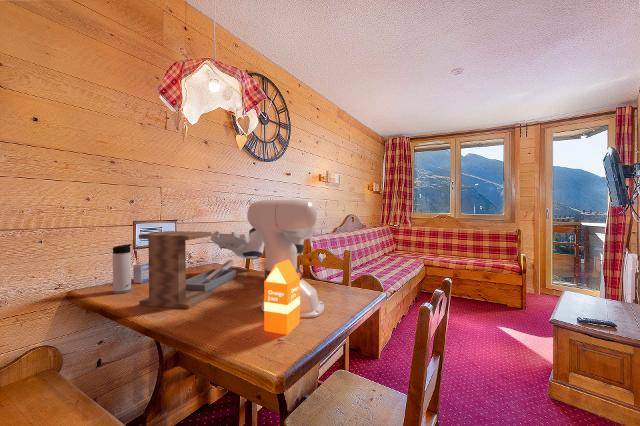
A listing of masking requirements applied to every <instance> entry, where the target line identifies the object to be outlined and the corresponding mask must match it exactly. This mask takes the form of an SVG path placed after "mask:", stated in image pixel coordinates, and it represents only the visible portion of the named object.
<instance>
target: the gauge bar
mask: <svg viewBox="0 0 640 426" xmlns="http://www.w3.org/2000/svg"><path fill="white" fill-rule="evenodd" d="M233 265H234V259H228V260H227V261H226V262H224V263H223V264H222V265H221V266H219V267H218V268H216V269H217V270H215V271H214V272H213V273H211V274H210V275H209V276H207V277H206V278H205V283H209V282H211V281H213V280H215V279H216V278H218V277H219V276H220V275H221V274H222V273H224V272H225V271H226V270H229V269H230V268H231V267H232V266H233Z"/></svg>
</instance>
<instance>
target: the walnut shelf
mask: <svg viewBox="0 0 640 426" xmlns="http://www.w3.org/2000/svg"><path fill="white" fill-rule="evenodd" d="M212 234H213V233H212V231H184V230H183V231H182V230H181V231H176V230H165V231H157V232H150V233H148V232H147V233H142V234H141V233H140V234H138V239H139V240H143V239H144V240H148V262H149V281H148V297H146V298H144V299H141V300H139V302H138V303H139V306H143V307H144V306H145V307H157V308H159V307H160V308H171V309H183V310H185V309H186V310H190V309H192V308H193V307H194V306H197V305H198V304H200V303H202V302H204V301H205V300H207V299H208V297H209V298H211V297H212V296H213V291H210V292H206V291H189V290H186V280H187V279H186V278H187V277H186V276H187V275H186V274H187V270H186V268H187V267H186V265H187V263H186V260H187V259H186V256H187V255H186V254H187V253H186V246H187V245H186V244H187V243H186V241H191V240H196V239H201V238H206V237H207V238H208V237H211V236H212ZM201 301H202V302H201ZM196 304H197V305H196Z"/></svg>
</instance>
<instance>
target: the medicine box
mask: <svg viewBox="0 0 640 426" xmlns="http://www.w3.org/2000/svg"><path fill="white" fill-rule="evenodd" d="M132 266H133V267H132V268H133V269H132V270H133V284H134V283H135V284H144V283H147V282H149V261H146V262H142V263H138V264H133V265H132Z"/></svg>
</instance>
